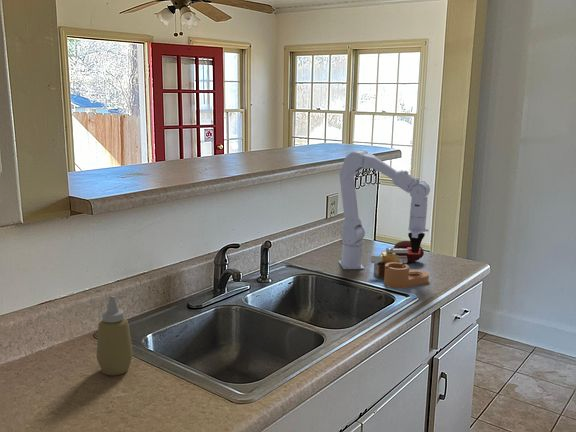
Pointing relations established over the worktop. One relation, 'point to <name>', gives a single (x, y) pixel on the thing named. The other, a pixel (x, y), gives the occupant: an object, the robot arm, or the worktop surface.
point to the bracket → (403, 276)
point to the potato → (409, 256)
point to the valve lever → (401, 251)
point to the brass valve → (383, 259)
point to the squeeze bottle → (114, 341)
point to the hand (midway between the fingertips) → (415, 252)
